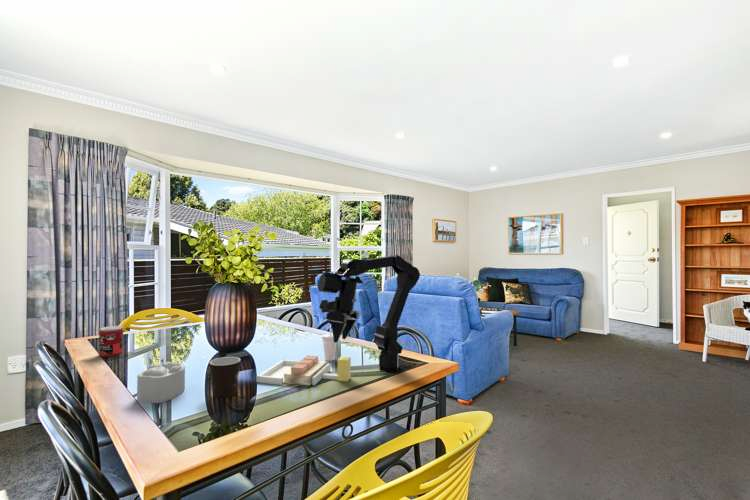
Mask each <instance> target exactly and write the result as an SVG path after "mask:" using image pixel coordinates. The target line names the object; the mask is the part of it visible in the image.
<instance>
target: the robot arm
mask: <svg viewBox="0 0 750 500" xmlns="http://www.w3.org/2000/svg"><path fill="white" fill-rule="evenodd" d="M390 267H391V268H392V270H393V272H394V273H395V274H396V285H397V288H396V290H395V293H394V295H393V299H392V301H391V303H390V307H389V308H388V312H387V314H386V318H385V320H384V321H383V323H382V324H381V325H380V324H377V325H376V328H375V331H374V333H373V336H374V338H373V341H374V344H375V345H376V346H377V350H379V351H380V354H379V356H378V367H379V370H380V371H392V372H397V371H398V370H399V367H400V364H399V355H401V354H402V351H403V346H402V345H401V344H400V343H399V342H398V337H399V334H398V325H399V323H400V319H401V317H402V313H403V312H404V309H405V305H406V302H407V300H408V296H409V294H410V291H411V290H412V289H413V288H414V287H415V286H416V284H417V283H418V281H419V280H420V277H421V273H420V271H419V268H417V267H415V266H414V265H412V264H411V263H409V261H406V260H405V259H404V258H403V257H401V256H400V255H398V254H390V255H389V256H380V257H375V258H374V257H373V258H368V259H358V258H357V259H354V258H346V259H343V260H342V262H341V264H340V266H339V267H338V268H337V269H336V270H335V271H334V272H329V271H322V274H321V275H320V277H319V279H318V280H317V289H318V291H319V292H321V293H329V294H337V293H338V296H336V297H335V298H334V300H332V301H329V300H328V299H323V300H321V301H320V303H319V308H318V309H320V311H321V313H322V314H323V313H326V317H325V320H326V321H327V322H328V323H329V325H330V324H331V332H332V334H333V339H334V342H337V343H338V341H339V340H340V337H341V336H342V337H341V339H342V340H346V339H347V337H348V336H349V334H350V332H351V331H352V329H353V327H354V326H355V325H356V322H357V321H358V320H359V319H360V313H359V311H358V310H354V304H355V303H356V302H357V299H356V293H357V292H356V291H357V286H358V284H364V282H363V280H362V279H361V278H360V275H363V274H365V273H367V272H368V271H373V270H377V269H378V270H379V269H383V268H390Z"/></svg>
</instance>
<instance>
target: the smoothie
mask: <svg viewBox="0 0 750 500" xmlns="http://www.w3.org/2000/svg"><path fill="white" fill-rule="evenodd" d="M321 339H322V344H323V345H322V346H323V352H324V361H327V362H332V361H335V358H336V350H337V349H336V348H337V343H338V342H334V339H333V333H332V326H331V324H330V323H329V333H324V334H322V335H321Z"/></svg>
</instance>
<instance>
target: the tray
mask: <svg viewBox="0 0 750 500" xmlns="http://www.w3.org/2000/svg"><path fill="white" fill-rule="evenodd" d="M299 361H300V360H294V359H293V360H292V359H281V360H280V361H279V362H277V363H275V364H274V365H271V367H269V368H267V369H266V370H264V371H262V372H261V373H259V374H258V375H257V376H256V383H257V382H260V384H270V385H281V386H282V385H284V384H285V383H284V374H285V373H286V372H287V371H289V370H290V369H291V367H292V366H294V365H295V364H297V363H298V362H299Z"/></svg>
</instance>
